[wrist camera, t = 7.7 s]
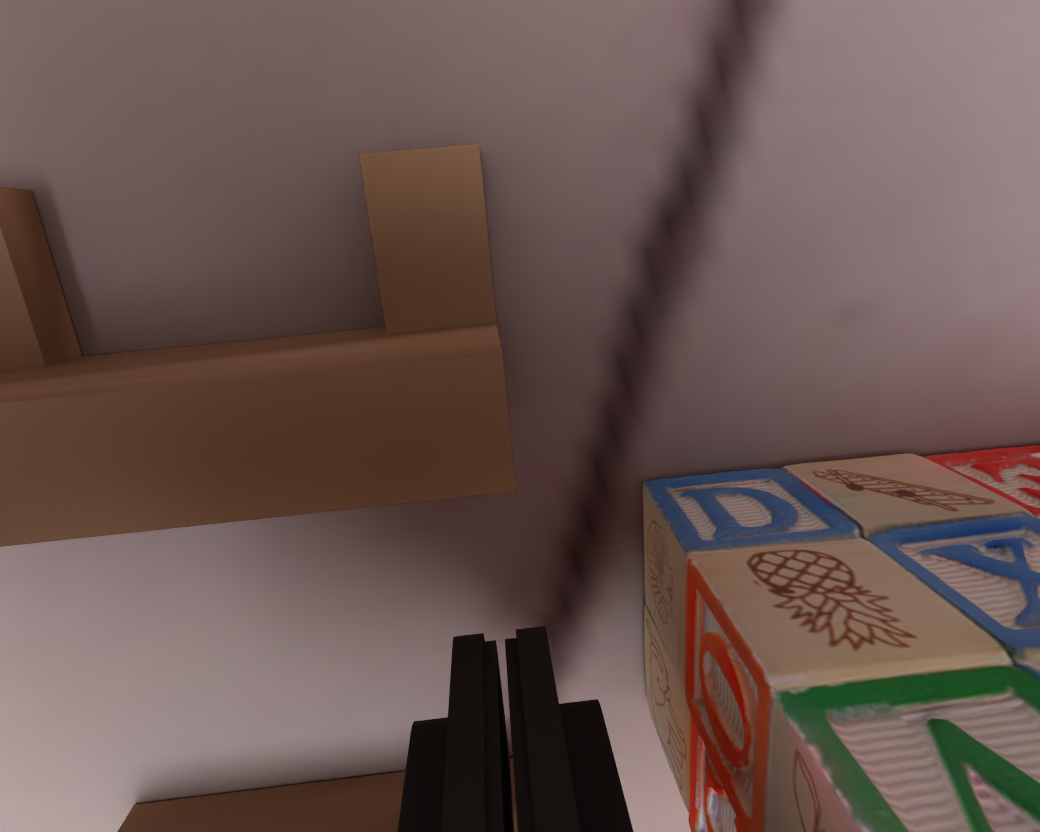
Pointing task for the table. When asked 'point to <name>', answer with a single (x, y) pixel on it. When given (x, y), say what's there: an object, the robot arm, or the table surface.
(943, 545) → the stack of blocks
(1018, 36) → the table surface
